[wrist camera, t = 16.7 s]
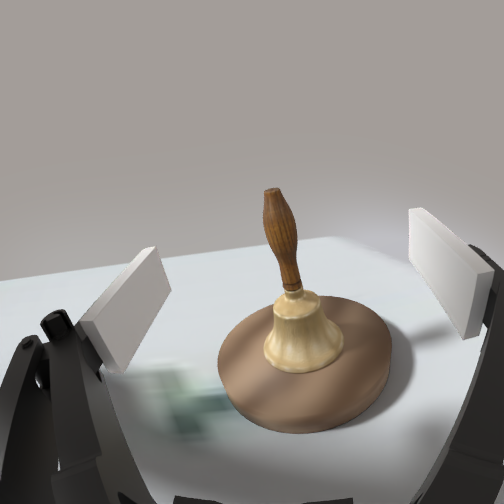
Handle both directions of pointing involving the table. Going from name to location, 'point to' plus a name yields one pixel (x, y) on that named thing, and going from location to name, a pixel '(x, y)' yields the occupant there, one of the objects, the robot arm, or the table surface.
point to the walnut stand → (307, 384)
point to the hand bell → (295, 302)
